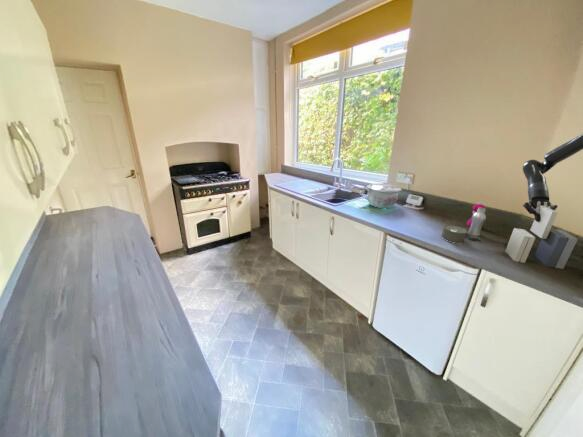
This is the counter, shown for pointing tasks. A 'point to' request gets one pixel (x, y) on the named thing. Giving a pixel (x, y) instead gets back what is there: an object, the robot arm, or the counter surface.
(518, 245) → the white books
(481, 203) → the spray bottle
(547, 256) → the grey books
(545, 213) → the white book
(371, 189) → the chamber pot
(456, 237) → the can
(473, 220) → the plastic bottle
